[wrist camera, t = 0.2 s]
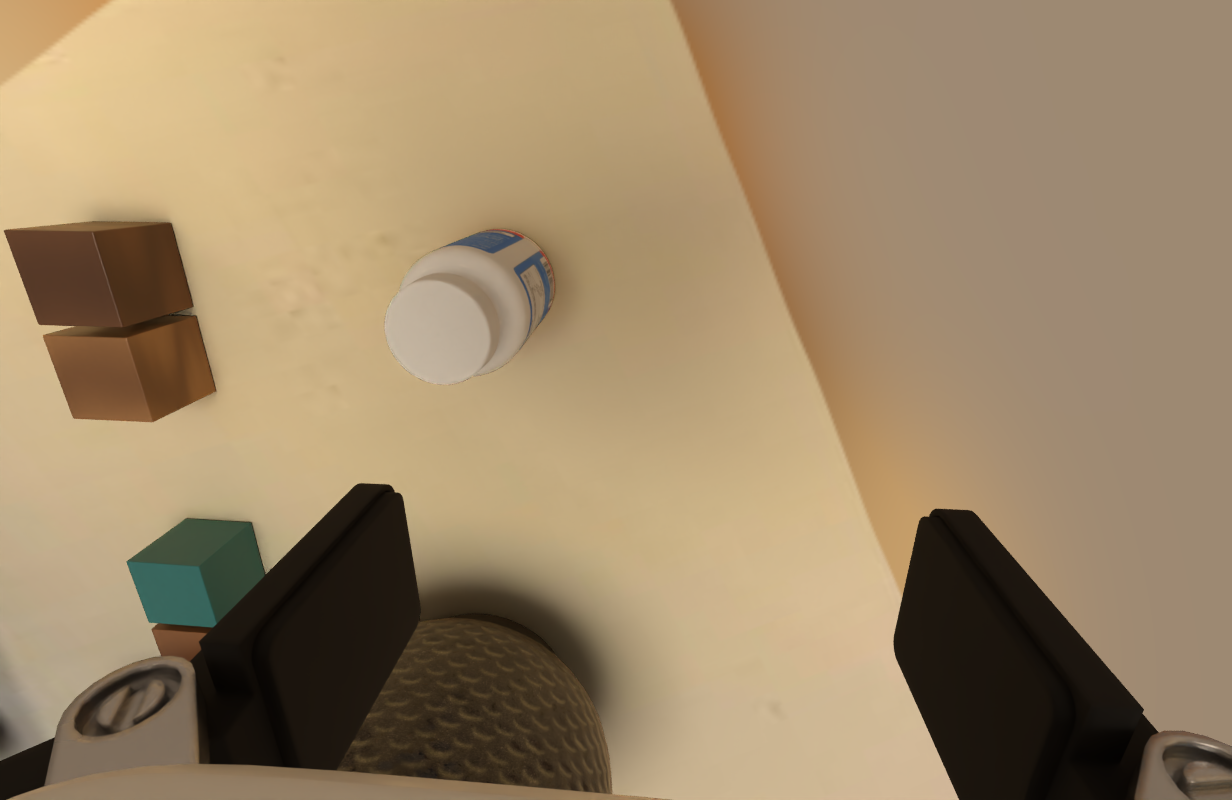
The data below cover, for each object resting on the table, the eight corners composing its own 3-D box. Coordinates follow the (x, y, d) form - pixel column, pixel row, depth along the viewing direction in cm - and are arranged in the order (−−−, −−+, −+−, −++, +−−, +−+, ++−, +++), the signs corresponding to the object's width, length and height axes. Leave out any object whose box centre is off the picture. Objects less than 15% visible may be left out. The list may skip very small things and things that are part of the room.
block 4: (205, 580, 40) (150, 629, 36) (268, 585, 39) (220, 634, 35) (221, 632, 42) (171, 684, 37) (281, 637, 41) (237, 690, 37)
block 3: (185, 518, 38) (125, 561, 34) (251, 522, 38) (198, 566, 33) (203, 574, 40) (148, 622, 36) (266, 579, 39) (218, 628, 35)
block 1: (92, 221, 31) (2, 229, 27) (171, 222, 31) (92, 231, 27) (118, 305, 33) (37, 325, 29) (193, 307, 32) (122, 327, 28)
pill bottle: (435, 289, 31) (335, 341, 22) (490, 204, 29) (406, 222, 20) (519, 353, 32) (457, 428, 23) (578, 275, 30) (536, 323, 21)
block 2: (121, 313, 33) (41, 334, 29) (196, 315, 33) (126, 337, 28) (145, 388, 35) (72, 418, 30) (216, 391, 34) (153, 422, 30)
